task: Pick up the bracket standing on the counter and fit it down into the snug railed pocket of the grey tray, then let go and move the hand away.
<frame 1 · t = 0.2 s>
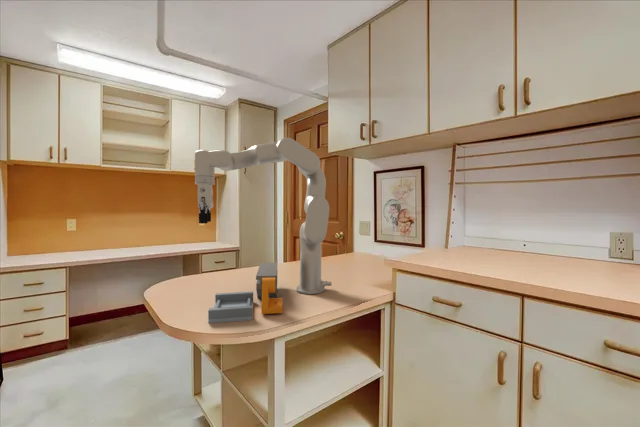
hand: (205, 222, 121), 31 cm above the table, tool pointing down, fingers open, 9 cm apart
bracket: (272, 310, 107), on the table
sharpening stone: (267, 293, 127), on the table
grey tray: (233, 311, 106), on the table
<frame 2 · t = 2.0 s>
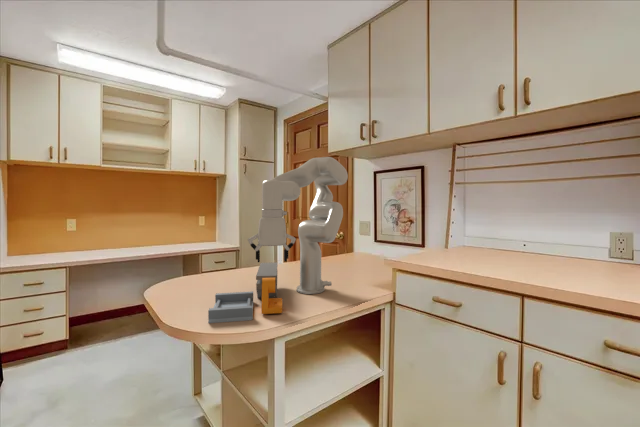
hand: (272, 261, 107), 18 cm above the table, tool pointing down, fingers open, 9 cm apart
nothing on the table moved.
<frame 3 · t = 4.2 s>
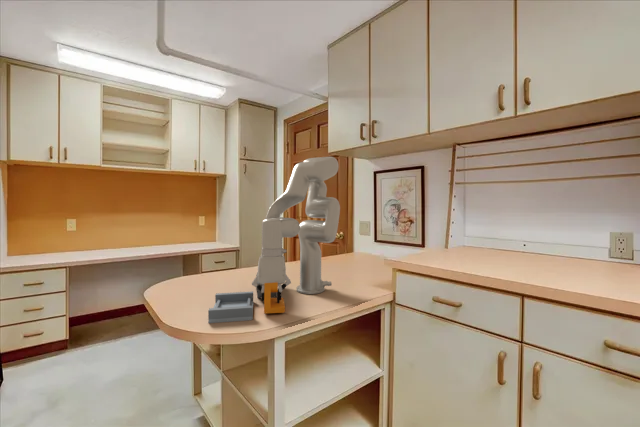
hand: (271, 301, 107), 3 cm above the table, tool pointing down, fingers closed on bracket, 4 cm apart
bracket: (274, 310, 107), on the table, touching gripper
everything else where it was.
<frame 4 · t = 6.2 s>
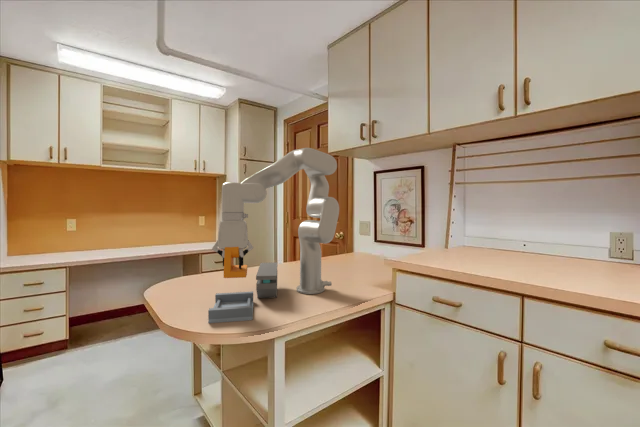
hand: (233, 267, 105), 16 cm above the table, tool pointing down, fingers closed on bracket, 4 cm apart
bracket: (236, 276, 105), point 13 cm above the table, touching gripper
everything else where it was.
when the fingers open (6 cm above the table, at t = 8.3 s): bracket drops 1 cm, resting on grey tray.
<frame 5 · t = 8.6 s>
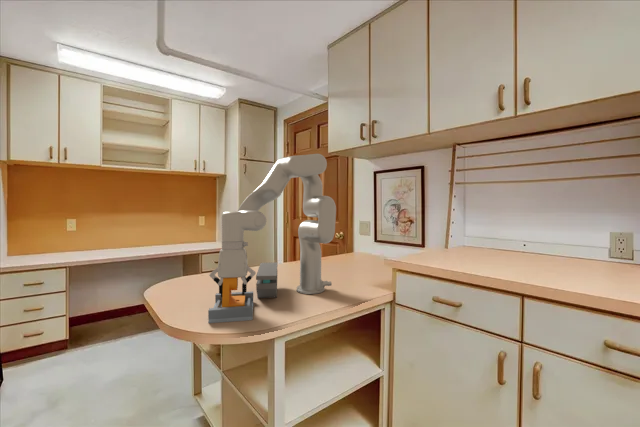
hand: (233, 294, 105), 6 cm above the table, tool pointing down, fingers open, 6 cm apart
bracket: (234, 308, 106), point 1 cm above the table, touching grey tray
everything else where it was.
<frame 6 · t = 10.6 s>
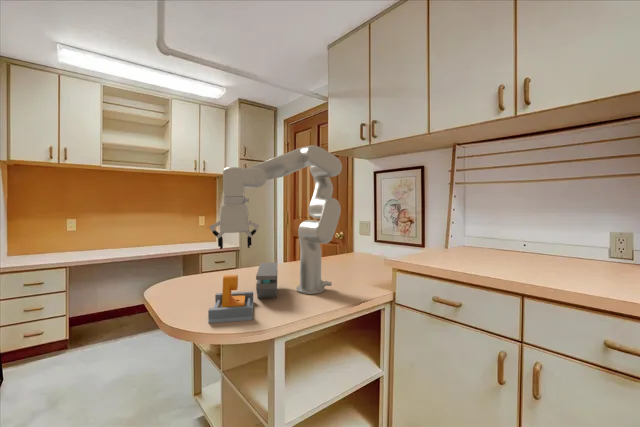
hand: (235, 248, 108), 23 cm above the table, tool pointing down, fingers open, 9 cm apart
nothing on the table moved.
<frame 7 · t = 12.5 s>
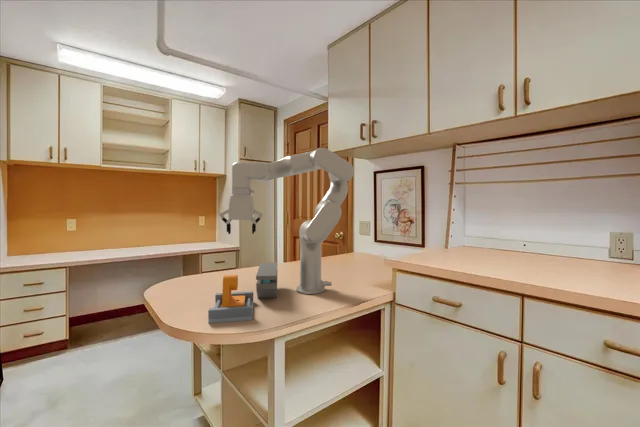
hand: (241, 233, 122), 26 cm above the table, tool pointing down, fingers open, 9 cm apart
nothing on the table moved.
at the end: bracket inside the target area on the grey tray (0.4 cm from its centre), point 1.0 cm above the grey tray's base; bracket tilted 0°; the gripper is holding nothing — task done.
